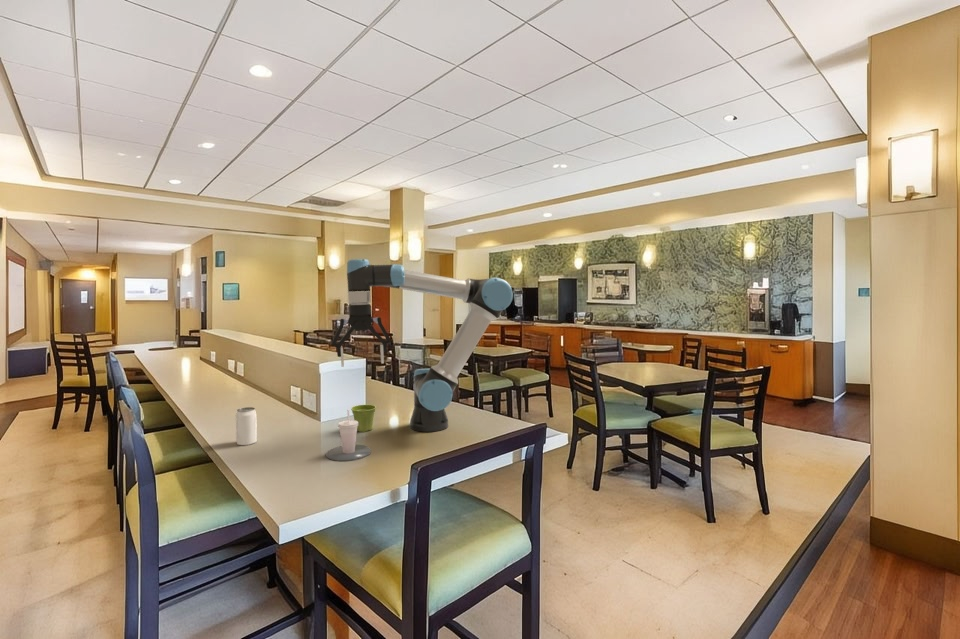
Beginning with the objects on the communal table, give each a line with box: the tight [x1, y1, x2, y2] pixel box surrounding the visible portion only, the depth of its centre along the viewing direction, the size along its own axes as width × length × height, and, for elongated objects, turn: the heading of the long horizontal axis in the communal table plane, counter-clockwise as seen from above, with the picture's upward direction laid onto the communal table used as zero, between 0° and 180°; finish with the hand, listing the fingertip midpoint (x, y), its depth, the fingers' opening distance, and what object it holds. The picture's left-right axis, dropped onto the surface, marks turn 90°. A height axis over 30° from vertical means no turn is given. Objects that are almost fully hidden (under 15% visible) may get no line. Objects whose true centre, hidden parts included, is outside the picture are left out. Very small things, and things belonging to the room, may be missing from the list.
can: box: [235, 406, 258, 446], centre depth 162 cm, size 6×6×12 cm
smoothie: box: [337, 409, 358, 454], centre depth 152 cm, size 6×6×14 cm
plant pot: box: [350, 404, 377, 433], centre depth 178 cm, size 9×9×9 cm
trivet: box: [326, 444, 372, 462], centre depth 152 cm, size 14×14×1 cm
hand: (362, 364), depth 162 cm, fingers open, 13 cm apart
